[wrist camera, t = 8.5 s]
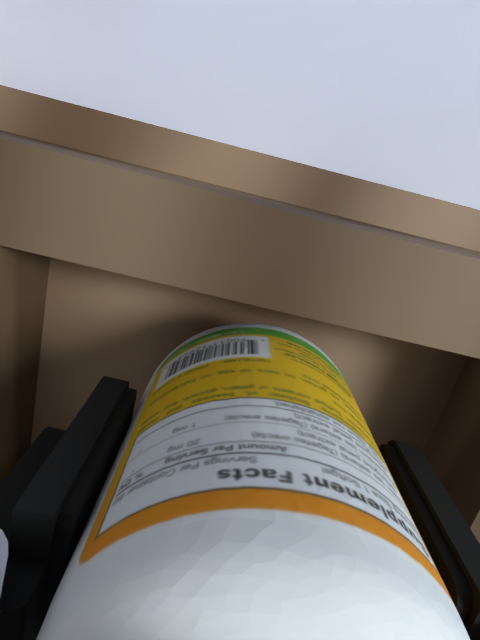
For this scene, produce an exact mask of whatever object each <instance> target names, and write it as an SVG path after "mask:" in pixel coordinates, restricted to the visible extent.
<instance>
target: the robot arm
mask: <svg viewBox="0 0 480 640" xmlns="http://www.w3.org/2000/svg"><path fill="white" fill-rule="evenodd" d="M136 395H137V390H135V389H131V388H129V381H125V380H121V379H116V378H112V377H107V376H103V377H102V379H101V380H100V381H99V383H98V384H97V386H96V387H95V389H94V390H93V392H92V393H91V395H90V396H89V398H88V399H87V401H86V402H85V403H84V405H83V406H82V408H81V409H80V411H79V412H78V414H77V415H76V417H75V418H74V420H73V421H72V422H71V424H70V425H69V427H68V428H67V430H62V429H57V428H52V427H47V428H45V429H44V430H43V431H42V432H41V433H40V435H39V436H38V437H37V439H36V440H35V441H34V442H33V444H32V445H31V446H30V448H29V449H28V450H27V452H26V453H25V454H24V455H23V457H22V458H21V459H20V461H19V462H18V463H17V464H16V466H15V467H14V468H13V470H12V471H11V472H10V474H9V475H8V476H7V477H6V479H5V480H4V481H3V483H2V484H1V485H0V640H36V638H37V636H38V634H39V631H40V629H41V626H42V624H43V621H44V619H45V617H46V614H47V612H48V609H49V607H50V604H51V602H52V600H53V597H54V595H55V593H56V591H57V589H58V586H59V584H60V582H61V580H62V578H63V575H64V573H65V571H66V569H67V566H68V564H69V562H70V560H71V558H72V555H73V553H74V551H75V549H76V546H77V544H78V542H79V540H80V537H81V535H82V533H83V531H84V528H85V526H86V524H87V522H88V519H89V517H90V515H91V512H92V510H93V508H94V506H95V503H96V501H97V499H98V497H99V494H100V492H101V490H102V487H103V485H104V483H105V481H106V478H107V476H108V474H109V472H110V469H111V467H112V465H113V462H114V460H115V458H116V456H117V453H118V451H119V449H120V446H121V444H122V442H123V440H124V437H125V435H126V433H127V430H128V428H129V426H130V423H131V421H132V417H133V411H134V406H135V401H136ZM378 449H379V451H380V453H381V455H382V457H383V459H384V461H385V463H386V465H387V467H388V469H389V471H390V473H391V475H392V478H393V480H394V482H395V484H396V486H397V488H398V490H399V492H400V494H401V496H402V498H403V500H404V503H405V505H406V507H407V509H408V511H409V513H410V515H411V517H412V519H413V521H414V523H415V525H416V527H417V530H418V532H419V534H420V536H421V538H422V540H423V542H424V544H425V546H426V548H427V550H428V552H429V554H430V556H431V558H432V560H433V562H434V564H435V566H436V568H437V570H438V572H439V574H440V576H441V578H442V580H443V582H444V584H445V586H446V588H447V590H448V592H449V595H450V597H451V599H452V601H453V603H454V605H455V607H456V609H457V611H458V613H459V616H460V618H461V620H462V622H463V624H464V626H465V629H466V631H467V633H468V635H469V638H470V640H480V543H479V542H478V540H477V539H476V537H475V535H474V534H473V532H472V531H471V529H470V527H469V526H468V524H467V523H466V521H465V520H464V518H463V516H462V515H461V513H460V512H459V510H458V508H457V507H456V505H455V504H454V502H453V500H452V499H451V497H450V496H449V494H448V492H447V491H446V489H445V488H444V486H443V484H442V483H441V481H440V480H439V478H438V476H437V475H436V473H435V472H434V470H433V468H432V467H431V465H430V464H429V462H428V460H427V459H426V457H425V456H424V454H423V452H422V451H421V449H420V448H419V447H418V446H417V445H415V444H411V443H406V442H402V441H397V440H390V441H389V442H388V443H387V444H381V445H380V446H379V448H378Z"/></svg>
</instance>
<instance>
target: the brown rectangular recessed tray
mask: <svg viewBox="0 0 480 640" xmlns="http://www.w3.org/2000/svg"><path fill="white" fill-rule="evenodd" d="M235 323H260V324H267V325H272V326H276V327H280V328H284V329H286V330H289V331H292V332H294V333H296V334H298V335H300V336H302V337H304V338H305V339H307V340H309V341H310V342H311V343H313V344H314V345H315V346H317V347H318V348H319V349H320V350H322V351H323V352H324V353H325V354H326V355H327V356H328V357H329V358H330V359H331V361H332V362H333V363H334V364H335V366H336V367H337V368H338V370H339V371H340V373H341V374H342V376H343V378H344V379H345V381H346V383H347V385H348V387H349V388H350V390H351V392H352V395H353V397H354V399H355V401H356V403H357V405H358V407H359V409H360V411H361V413H362V415H363V418H364V420H365V422H366V424H367V426H368V428H369V430H370V432H371V434H372V437H373V439H374V441H375V443H376V445H377V447H378V448H379V446H380V445H381V444H387V443H388V442H389V441H390V440H397V441H402V442H406V443H411V444H415V445H417V446H418V447H419V448H420V449H421V451H422V452H423V454H424V456H425V457H426V459H427V460H428V462H429V464H430V465H431V467H432V468H433V470H434V472H435V473H436V475H437V476H438V478H439V480H440V481H441V483H442V484H443V486H444V488H445V489H446V491H447V492H448V494H449V496H450V497H451V499H452V500H453V502H454V504H455V505H456V507H457V508H458V510H459V512H460V513H461V515H462V516H463V518H464V520H465V521H466V523H467V524H468V526H469V527H470V529H471V531H472V532H473V534H474V535H475V537H476V539H477V540H478V542H479V543H480V210H477V209H473V208H469V207H465V206H461V205H457V204H454V203H450V202H446V201H442V200H438V199H435V198H431V197H427V196H423V195H419V194H415V193H412V192H408V191H404V190H400V189H396V188H392V187H389V186H385V185H381V184H377V183H373V182H369V181H366V180H362V179H358V178H354V177H350V176H346V175H343V174H339V173H335V172H331V171H327V170H324V169H320V168H316V167H312V166H308V165H304V164H301V163H297V162H293V161H289V160H285V159H281V158H278V157H274V156H270V155H266V154H262V153H258V152H255V151H251V150H247V149H243V148H239V147H236V146H232V145H228V144H224V143H220V142H216V141H213V140H209V139H205V138H201V137H197V136H193V135H190V134H186V133H182V132H178V131H174V130H170V129H167V128H163V127H159V126H155V125H151V124H147V123H144V122H140V121H136V120H132V119H128V118H125V117H121V116H117V115H113V114H109V113H105V112H102V111H98V110H94V109H90V108H86V107H82V106H79V105H75V104H71V103H67V102H63V101H59V100H56V99H52V98H48V97H44V96H40V95H36V94H33V93H29V92H25V91H21V90H17V89H14V88H10V87H6V86H2V85H0V485H1V484H2V483H3V481H4V480H5V479H6V477H7V476H8V475H9V474H10V472H11V471H12V470H13V468H14V467H15V466H16V464H17V463H18V462H19V461H20V459H21V458H22V457H23V455H24V454H25V453H26V452H27V450H28V449H29V448H30V446H31V445H32V444H33V442H34V441H35V440H36V439H37V437H38V436H39V435H40V433H41V432H42V431H43V430H44V429H45V428H47V427H52V428H57V429H62V430H67V428H68V427H69V425H70V424H71V422H72V421H73V420H74V418H75V417H76V415H77V414H78V412H79V411H80V409H81V408H82V406H83V405H84V403H85V402H86V401H87V399H88V398H89V396H90V395H91V393H92V392H93V390H94V389H95V387H96V386H97V384H98V383H99V381H100V380H101V379H102V377H103V376H107V377H112V378H116V379H121V380H125V381H129V388H131V389H135V390H137V395H136V401H135V406H134V411H133V417H134V414H135V412H136V410H137V407H138V405H139V403H140V400H141V398H142V396H143V394H144V391H145V389H146V387H147V385H148V383H149V381H150V380H151V378H152V376H153V374H154V372H155V371H156V369H157V368H158V366H159V365H160V364H161V363H162V361H163V360H164V359H165V358H166V357H167V356H168V354H169V353H171V352H172V351H173V350H174V349H175V348H176V347H178V346H179V345H180V344H182V343H183V342H184V341H186V340H187V339H189V338H191V337H193V336H194V335H196V334H199V333H201V332H203V331H206V330H208V329H211V328H214V327H218V326H222V325H228V324H235ZM133 417H132V419H133Z"/></svg>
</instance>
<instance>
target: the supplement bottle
mask: <svg viewBox="0 0 480 640" xmlns="http://www.w3.org/2000/svg"><path fill="white" fill-rule="evenodd" d="M36 640H470V638H469V635H468V633H467V631H466V629H465V626H464V624H463V622H462V620H461V618H460V616H459V613H458V611H457V609H456V607H455V605H454V603H453V601H452V599H451V597H450V595H449V592H448V590H447V588H446V586H445V584H444V582H443V580H442V578H441V576H440V574H439V572H438V570H437V568H436V566H435V564H434V562H433V560H432V558H431V556H430V554H429V552H428V550H427V548H426V546H425V544H424V542H423V540H422V538H421V536H420V534H419V532H418V530H417V527H416V525H415V523H414V521H413V519H412V517H411V515H410V513H409V511H408V509H407V507H406V505H405V503H404V500H403V498H402V496H401V494H400V492H399V490H398V488H397V486H396V484H395V482H394V480H393V478H392V475H391V473H390V471H389V469H388V467H387V465H386V463H385V461H384V459H383V457H382V455H381V453H380V451H379V449H378V447H377V445H376V443H375V441H374V439H373V437H372V434H371V432H370V430H369V428H368V426H367V424H366V422H365V420H364V418H363V415H362V413H361V411H360V409H359V407H358V405H357V403H356V401H355V399H354V397H353V395H352V392H351V390H350V388H349V387H348V385H347V383H346V381H345V379H344V378H343V376H342V374H341V373H340V371H339V370H338V368H337V367H336V366H335V364H334V363H333V362H332V361H331V359H330V358H329V357H328V356H327V355H326V354H325V353H324V352H323V351H322V350H320V349H319V348H318V347H317V346H315V345H314V344H313V343H311V342H310V341H309V340H307V339H305V338H304V337H302V336H300V335H298V334H296V333H294V332H292V331H289V330H286V329H284V328H280V327H276V326H272V325H267V324H260V323H235V324H228V325H222V326H218V327H214V328H211V329H208V330H206V331H203V332H201V333H199V334H196V335H194V336H193V337H191V338H189V339H187V340H186V341H184V342H183V343H182V344H180V345H179V346H178V347H176V348H175V349H174V350H173V351H172V352H171V353H169V354H168V356H167V357H166V358H165V359H164V360H163V361H162V363H161V364H160V365H159V366H158V368H157V369H156V371H155V372H154V374H153V376H152V378H151V380H150V381H149V383H148V385H147V387H146V389H145V391H144V394H143V396H142V398H141V400H140V403H139V405H138V407H137V410H136V412H135V414H134V417H133V419H132V421H131V423H130V426H129V428H128V430H127V433H126V435H125V437H124V440H123V442H122V444H121V446H120V449H119V451H118V453H117V456H116V458H115V460H114V462H113V465H112V467H111V469H110V472H109V474H108V476H107V478H106V481H105V483H104V485H103V487H102V490H101V492H100V494H99V497H98V499H97V501H96V503H95V506H94V508H93V510H92V512H91V515H90V517H89V519H88V522H87V524H86V526H85V528H84V531H83V533H82V535H81V537H80V540H79V542H78V544H77V546H76V549H75V551H74V553H73V555H72V558H71V560H70V562H69V564H68V566H67V569H66V571H65V573H64V575H63V578H62V580H61V582H60V584H59V586H58V589H57V591H56V593H55V595H54V597H53V600H52V602H51V604H50V607H49V609H48V612H47V614H46V617H45V619H44V621H43V624H42V626H41V629H40V631H39V634H38V636H37V638H36Z"/></svg>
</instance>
